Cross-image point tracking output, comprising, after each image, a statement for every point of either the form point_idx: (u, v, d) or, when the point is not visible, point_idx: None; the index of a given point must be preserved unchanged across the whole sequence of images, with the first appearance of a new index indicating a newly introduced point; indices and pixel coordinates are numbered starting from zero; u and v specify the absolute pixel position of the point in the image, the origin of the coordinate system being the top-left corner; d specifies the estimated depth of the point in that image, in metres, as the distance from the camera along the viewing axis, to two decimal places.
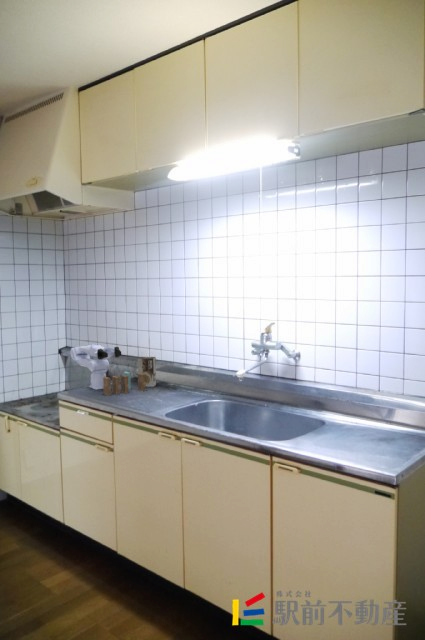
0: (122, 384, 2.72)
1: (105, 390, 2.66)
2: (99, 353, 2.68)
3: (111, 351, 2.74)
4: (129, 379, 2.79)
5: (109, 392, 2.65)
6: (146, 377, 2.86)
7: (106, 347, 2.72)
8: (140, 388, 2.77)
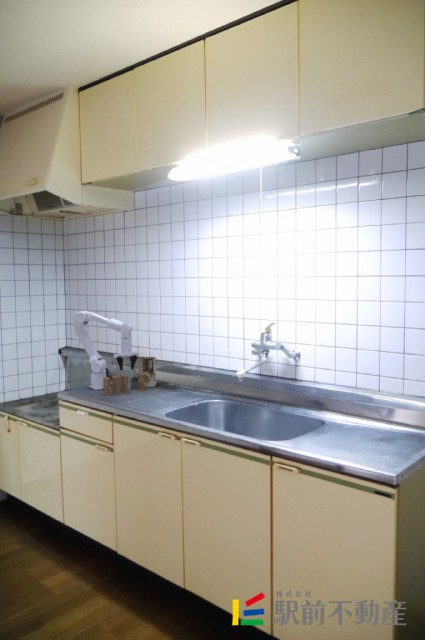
0: (122, 384, 2.72)
1: (105, 390, 2.66)
2: None
3: (130, 355, 2.81)
4: (129, 379, 2.79)
5: (109, 392, 2.65)
6: (146, 377, 2.86)
7: (128, 355, 2.78)
8: (140, 388, 2.77)
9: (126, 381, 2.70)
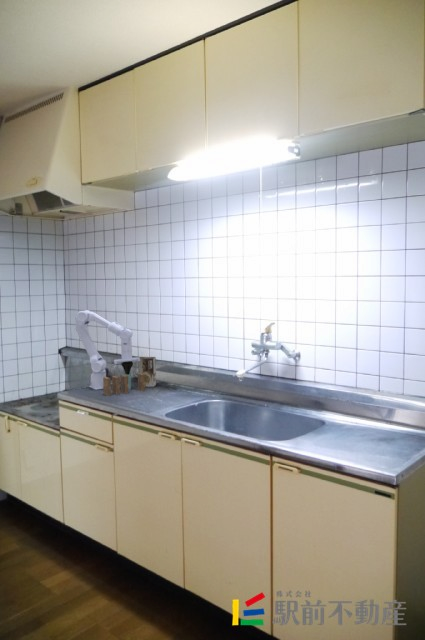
0: (122, 384, 2.72)
1: (105, 390, 2.66)
2: None
3: (131, 360, 2.82)
4: (129, 381, 2.80)
5: (109, 392, 2.65)
6: (146, 377, 2.86)
7: (128, 360, 2.78)
8: (140, 388, 2.77)
9: (126, 381, 2.70)
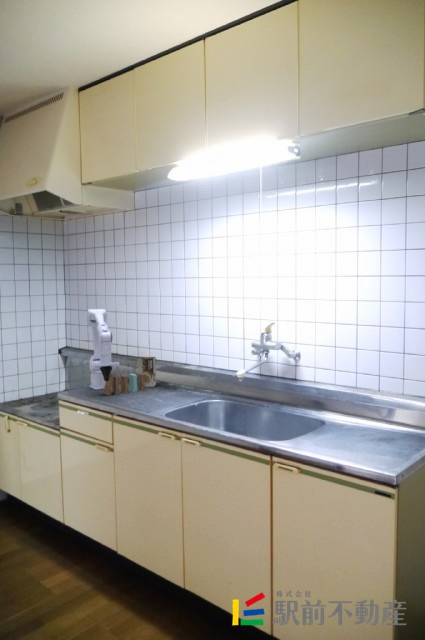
0: (122, 384, 2.72)
1: (106, 389, 2.66)
2: None
3: (110, 365, 2.66)
4: (136, 381, 2.73)
5: (110, 392, 2.65)
6: (146, 377, 2.86)
7: (107, 365, 2.63)
8: (140, 388, 2.77)
9: (126, 381, 2.70)
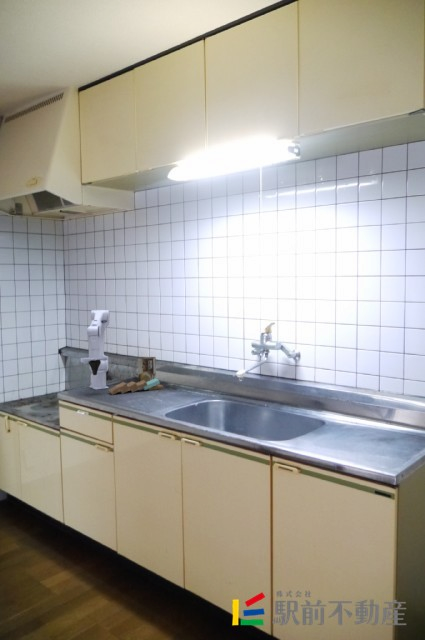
0: None
1: (114, 388, 2.68)
2: None
3: (99, 359, 2.67)
4: (153, 385, 2.77)
5: (115, 392, 2.66)
6: (146, 377, 2.86)
7: (96, 359, 2.63)
8: None
9: (142, 385, 2.74)
